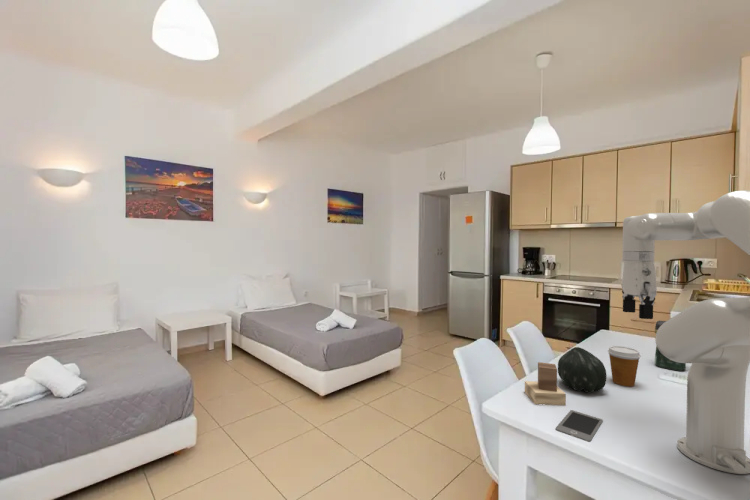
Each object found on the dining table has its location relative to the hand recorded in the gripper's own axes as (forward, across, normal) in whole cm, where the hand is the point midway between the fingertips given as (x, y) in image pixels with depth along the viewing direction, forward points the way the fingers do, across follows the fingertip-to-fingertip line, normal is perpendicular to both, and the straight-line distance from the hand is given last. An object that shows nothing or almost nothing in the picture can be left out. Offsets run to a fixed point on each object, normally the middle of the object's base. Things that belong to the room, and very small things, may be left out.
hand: (637, 315), depth 102 cm
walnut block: (+25, +2, +24) cm, 34 cm away
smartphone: (+29, -14, +19) cm, 37 cm away
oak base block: (+29, +2, +25) cm, 38 cm away
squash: (+29, +14, +10) cm, 33 cm away
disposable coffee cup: (+28, +22, -6) cm, 36 cm away
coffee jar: (+28, +45, -32) cm, 62 cm away
